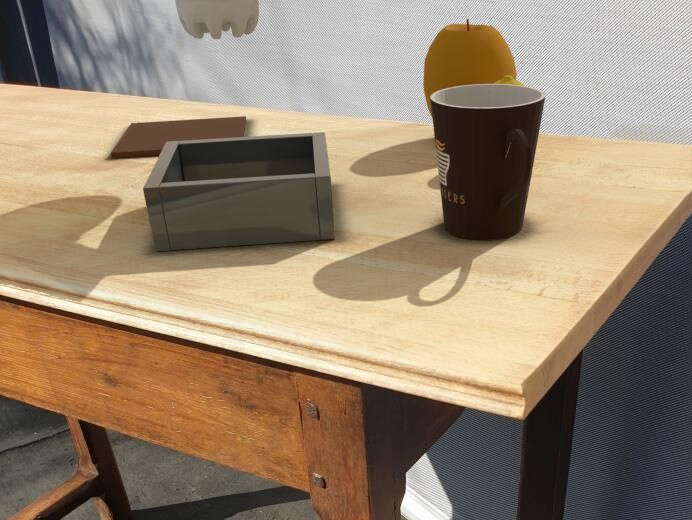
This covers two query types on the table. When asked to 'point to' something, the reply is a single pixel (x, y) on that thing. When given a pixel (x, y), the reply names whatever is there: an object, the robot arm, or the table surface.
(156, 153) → the mat
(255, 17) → the bottle
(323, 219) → the grey open box
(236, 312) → the table surface
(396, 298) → the table surface
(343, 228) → the table surface
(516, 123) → the coffee mug
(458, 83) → the apple
